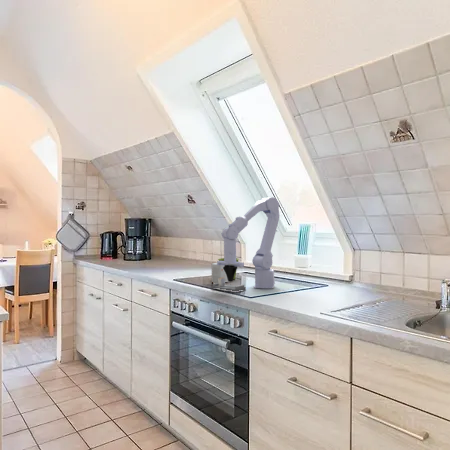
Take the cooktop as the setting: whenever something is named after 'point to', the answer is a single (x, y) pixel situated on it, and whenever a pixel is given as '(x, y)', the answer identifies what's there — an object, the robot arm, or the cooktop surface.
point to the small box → (218, 273)
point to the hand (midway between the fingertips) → (230, 281)
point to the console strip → (229, 287)
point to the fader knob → (221, 281)
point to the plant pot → (229, 264)
